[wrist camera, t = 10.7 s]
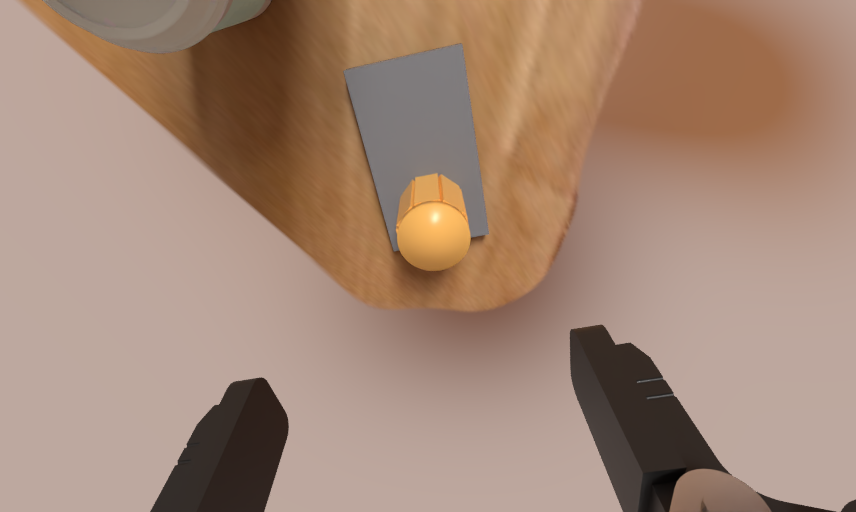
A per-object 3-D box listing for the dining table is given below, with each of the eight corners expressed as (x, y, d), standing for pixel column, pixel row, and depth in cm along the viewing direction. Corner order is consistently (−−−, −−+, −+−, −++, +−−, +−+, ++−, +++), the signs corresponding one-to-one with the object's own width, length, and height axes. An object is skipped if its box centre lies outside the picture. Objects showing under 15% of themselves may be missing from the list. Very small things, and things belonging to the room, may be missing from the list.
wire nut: (395, 181, 30) (389, 213, 25) (457, 169, 30) (465, 199, 25) (408, 236, 33) (406, 276, 28) (467, 226, 32) (475, 264, 27)
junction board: (347, 69, 28) (333, 76, 24) (460, 43, 27) (467, 46, 23) (394, 243, 35) (390, 273, 30) (486, 226, 34) (495, 255, 30)
